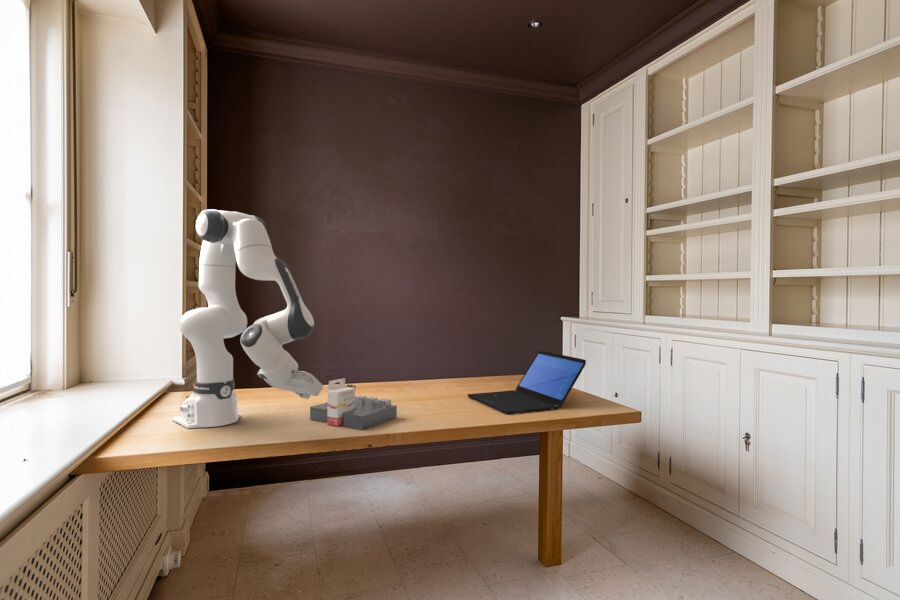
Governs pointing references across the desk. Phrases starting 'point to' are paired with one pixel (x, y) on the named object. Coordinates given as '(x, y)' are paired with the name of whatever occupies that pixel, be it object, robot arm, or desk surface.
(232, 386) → the robot arm
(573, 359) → the laptop
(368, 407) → the castellated collar
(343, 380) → the ink cartridge box
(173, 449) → the desk surface
